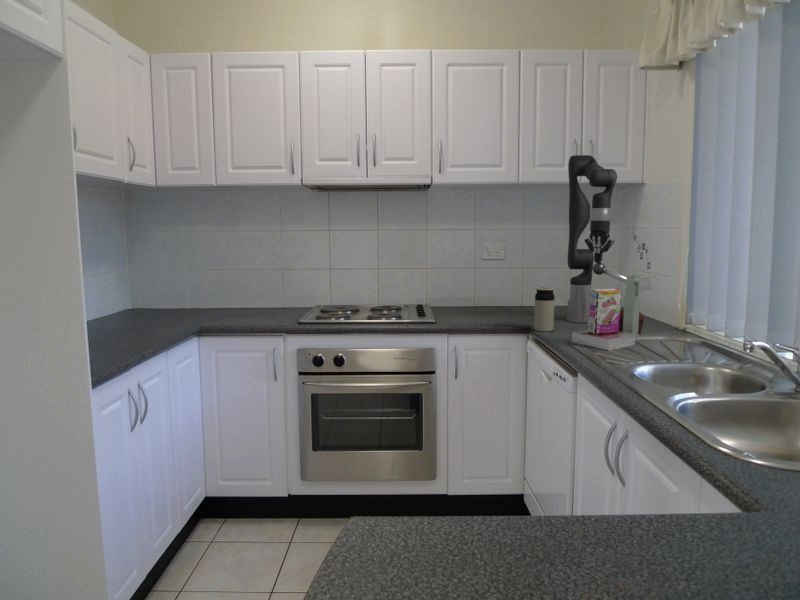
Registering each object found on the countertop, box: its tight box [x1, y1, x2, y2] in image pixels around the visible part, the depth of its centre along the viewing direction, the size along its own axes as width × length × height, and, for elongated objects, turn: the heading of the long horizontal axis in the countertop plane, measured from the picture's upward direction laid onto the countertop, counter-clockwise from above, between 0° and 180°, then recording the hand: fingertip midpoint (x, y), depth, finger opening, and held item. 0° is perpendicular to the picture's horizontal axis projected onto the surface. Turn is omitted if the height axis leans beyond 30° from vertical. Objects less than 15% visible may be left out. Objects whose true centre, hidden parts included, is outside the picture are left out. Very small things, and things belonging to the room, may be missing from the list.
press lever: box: [592, 262, 659, 292], centre depth 219 cm, size 25×5×14 cm, turn 35°
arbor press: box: [571, 274, 641, 351], centre depth 211 cm, size 16×26×25 cm, turn 125°
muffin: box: [619, 308, 645, 335], centre depth 229 cm, size 12×11×10 cm
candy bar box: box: [586, 288, 623, 335], centre depth 208 cm, size 11×5×16 cm, turn 110°
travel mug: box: [533, 286, 556, 333], centre depth 236 cm, size 8×8×18 cm
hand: (597, 262), depth 227 cm, fingers closed
